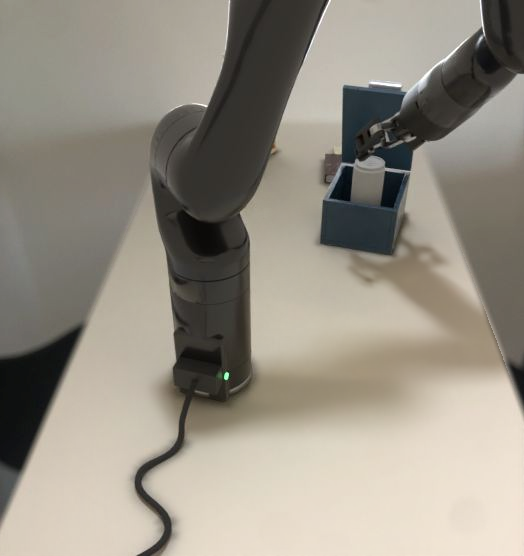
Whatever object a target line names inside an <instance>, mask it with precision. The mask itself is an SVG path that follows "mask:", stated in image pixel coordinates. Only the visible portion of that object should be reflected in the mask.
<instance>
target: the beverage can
mask: <svg viewBox="0 0 524 556" xmlns="http://www.w3.org/2000/svg"><path fill="white" fill-rule="evenodd" d="M353 165H354V168H353V179H352V190H351V201H350V202H355V203H362V204H368V205H375V206H380V205H381V197H382V190H383V182H384V174H385V169H386V168H385V161H384V160H383V159H381V158H379V157H376V156H370V157H368V158H367V159H366V160H365V161H362V162H359V161H358V159H356V160H355V164H354V163H353Z"/></svg>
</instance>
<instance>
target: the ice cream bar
mask: <svg viewBox="0 0 524 556" xmlns="http://www.w3.org/2000/svg"><path fill="white" fill-rule="evenodd" d="M342 163H345V164H352V165H354V163H347V162H342V145H336V146H335V145H334V147H333V153H325V154H324V174H323V178H324V179H323V180H324V181H323V182H324V183H327V184H331V183H332V181H333V179H334V177H335V175H336V173H337V171H338V170H339V168H340V166H341V164H342Z"/></svg>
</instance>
